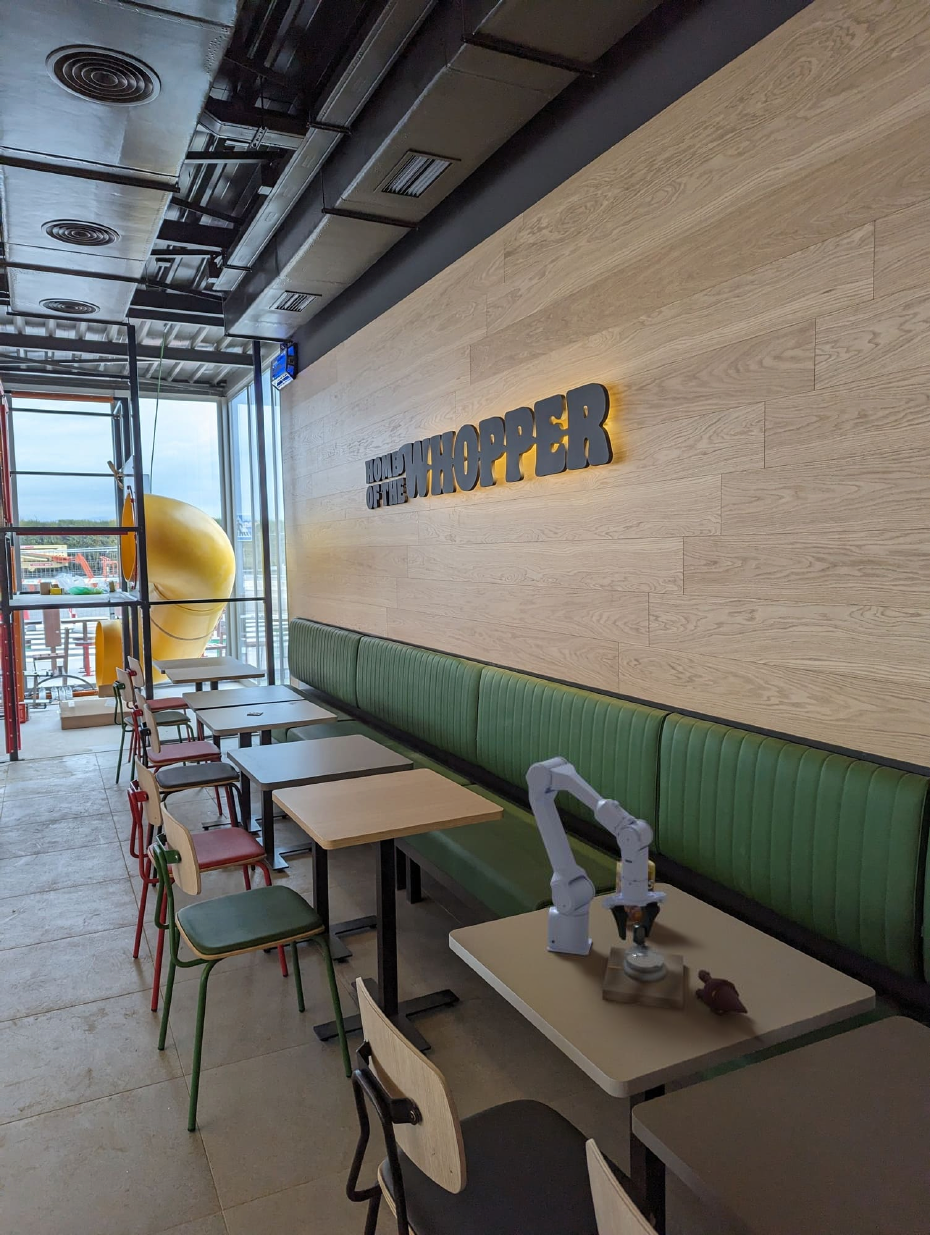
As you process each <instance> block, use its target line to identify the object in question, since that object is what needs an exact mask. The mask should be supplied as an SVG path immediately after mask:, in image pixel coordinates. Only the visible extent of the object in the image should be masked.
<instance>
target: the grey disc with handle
mask: <svg viewBox="0 0 930 1235" xmlns="http://www.w3.org/2000/svg"><path fill="white" fill-rule="evenodd" d="M646 940H647V938H646V926H645V925H644V924H642V923H635V924H633V925H632V942H633V945H632V946H629V947H628V948H626V949H627V950H626V964H627V966H628V967H630V968H631V969H633V970H636V971H639V972H645V973H653V972H658V971H660V970H662V969H663V967H664V954H663V953H664V952H663V951H662V950H660V949H659V948H656V947H654V946H650V945H646V943H647V941H646Z"/></svg>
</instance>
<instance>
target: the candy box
mask: <svg viewBox="0 0 930 1235" xmlns="http://www.w3.org/2000/svg"><path fill="white" fill-rule="evenodd" d="M655 879H656V865H655V863H654V862H653V861H651V860H650V859H649V858H648V892H655V882H656V880H655ZM615 880H616V881H615V882H616V883H615V895H617V894H620V893H621V883H622V881H621V880H622V860H620V861H618V860H617V861H616V879H615ZM624 908H625V911H626V912H627V913H628V918H627V924H626V926H628V925H629V926H631V925H632V926H633V924H635V923H642V910H641V907H639V906H637V905H634V906H624Z"/></svg>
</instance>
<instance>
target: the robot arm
mask: <svg viewBox="0 0 930 1235" xmlns="http://www.w3.org/2000/svg"><path fill="white" fill-rule="evenodd" d="M576 771H577V770H576V768H575V766H574V765H573V764H571V763H569V761H568V760H567V759H565V758H564V757H561V756H555V757H552V758H550V759H548V760H544V761H540V762H534V763H533V764H532V765H530V767H529V769H528V771H527V773H526V775H525V780H526V783H527V786H528V800H529V804H530V806H531V810H532V813H533V815H534V818H535V821H536V824H537V827H538V829H539V832H540V835H541V839H542V842H543V844H544V847H545V850H546V853H547V856H548V858H549V862H550V865H551V866H552V871H553V875H552V877H551V880H550V883H549V884H550V888H551V899H552V903H553V906H550V908H549V911H548V920H547V951H550V952H555V953H556V952H557V953H567V954H571V955H573V954H574V955H582V956H589V954H590V949H591V947H592V942H593V939H592V938H589V936H590V934H589V931H590V925H589V924H590V907H591V902H592V901H593V900H594V898H595V895H596V888H595V886H594V883H593V882H592V881H591V879H590V878H589V877H588V875H587V873H586V870H585V869H584V868H582V867H581V866H579V865H578V864H577V863H576V860H575V858H574V854H573V852H572V849H571V847H570V843H569V841H568V838H567V835H566V833H565V832H566V831H565V830H564V827H563V824H562V821H561V819H560V815H559V812H558V810H557V805H556V804H555V802H554V800H555V799H556V796H557V794H558V792H559V791H568V792H569V793H570V794H572V795H573V796H574V797H575V798H577V799H578V800H579V801H581V802H582V803H583V804H584V805H586V806H587V807H588V808H590V809H591V810H592V811H593V814H594V819H595V820H596V821H597V822H598V823H600V825H602V826H603V827H604V828H605V829H607V830H608V831H609V832H610V833H611V834H612V835H614V836H615V837H616V842H617V845H618V847H619V848H620V854H621V855H620V856H621V861H622V880H621V881H622V883H621V893H620V894H617V895H616V894H614V895H610V896H607V897H602V899H601V902H602V903H601V905H602V908H604V909H605V910H607V911H608V910H610V911H611V913H612V916H613V919H614V921H615V924H616V928H617V931H618V938H619V939H621V940H622V941H626V940H627V925H626V924H627V918H628V913H627V912H626V911H625V908H624V906H634V905H637V906H639V907H641V910H642V924H644V925H645V926H646V939H647V938H650V934H651V931H652V928H653V926H654V923H655V921H656V918H657V917H658V915H659V913H661V912H660V911H661V907H660V905H658V904H660V903H661V904H662V905H664V904H665V905H666V904H667V894H666V893H665V892H664V891H654V892H648V859H649V845H650V844H651V843H652V841H653V839H654V832H653V829H652V827H651V825H649V824H648V822H647V821H646V820H644V819H637V818H636V817H634V815H630V814H629V813H628V812H627V811H626V810H625V809H624V808H623V807H621V806H620V803H619V801H617V800H613V799H611V798H609V799H608V798H607V799H605V798H603V797H602V796H601V795H600V794H599V793H598V792H597V791H596V790H595V789H594V788H593V787H592V786H591V785H589V784H588V782H587V781H585V779H583V777H581V776H580V775H579V774H578V773H577V772H576Z"/></svg>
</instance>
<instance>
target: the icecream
mask: <svg viewBox="0 0 930 1235" xmlns="http://www.w3.org/2000/svg"><path fill="white" fill-rule="evenodd" d="M697 976H698V977H697V978H698V979H699V980H700V981H701V982H702V983H703V984H704V985H703V988H697V989H696V990H695V992H694V993H695V994H694V995H695V997H696V998H698V999H699V1000H701V1001H703V1002H704V1003H705V1004H706V1006H707V1007H708V1008H709V1010H710V1011H711V1012H712V1013H714V1014H716V1015H718V1016H724V1015H725V1014H730V1013H737V1014H745V1015H747V1014H748V1013H749V1012H748V1010H747V1008H746V1007H745V1005H744V1004H743V1002H742V1001H741V999H740V994H739V991H738V990H737V988H736V986H735V984H734V983H733V982H732V981H729V980H728V979H724V978H719V977H718V978H716V977H714V978H713V977H712V976H711V973H710V972H709V971H707V970H705V969H700V970H698V973H697Z"/></svg>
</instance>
